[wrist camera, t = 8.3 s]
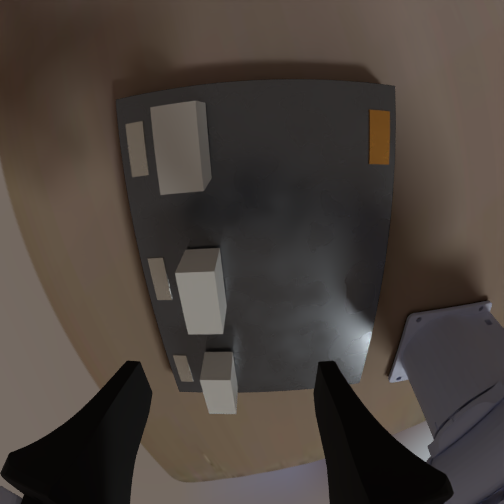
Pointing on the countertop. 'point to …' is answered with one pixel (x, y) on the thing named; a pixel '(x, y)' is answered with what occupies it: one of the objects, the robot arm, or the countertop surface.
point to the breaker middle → (202, 291)
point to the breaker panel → (271, 224)
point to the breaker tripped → (181, 147)
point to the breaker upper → (219, 382)
